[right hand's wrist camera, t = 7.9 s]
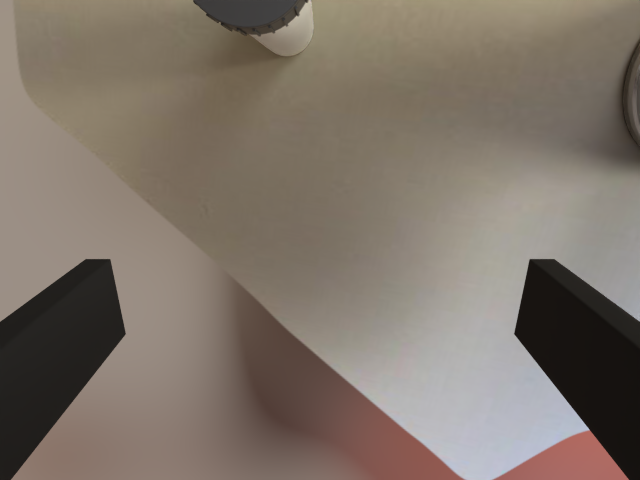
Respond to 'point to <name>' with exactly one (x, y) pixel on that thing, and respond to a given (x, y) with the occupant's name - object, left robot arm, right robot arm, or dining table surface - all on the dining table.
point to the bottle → (291, 34)
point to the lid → (252, 14)
